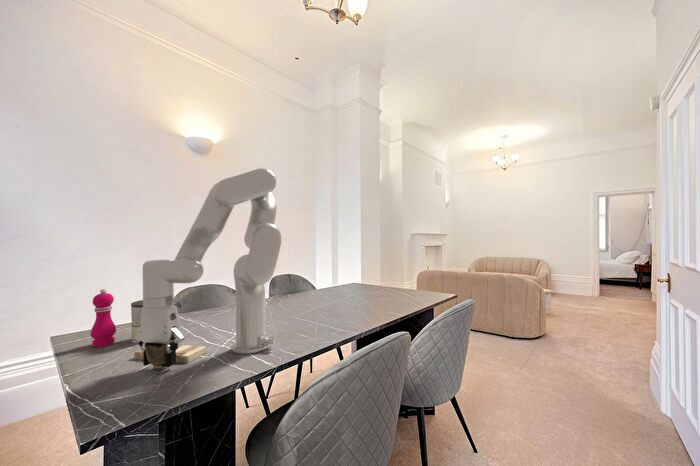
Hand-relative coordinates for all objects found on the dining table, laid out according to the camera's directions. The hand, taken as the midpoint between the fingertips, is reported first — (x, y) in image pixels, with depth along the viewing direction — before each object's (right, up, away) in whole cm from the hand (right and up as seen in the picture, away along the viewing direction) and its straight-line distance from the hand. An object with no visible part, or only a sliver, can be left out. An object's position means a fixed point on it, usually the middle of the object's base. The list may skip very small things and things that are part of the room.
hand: (159, 364), depth 87 cm
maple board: (-3, -2, +10) cm, 10 cm away
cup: (0, -2, 0) cm, 2 cm away
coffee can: (-22, -3, +28) cm, 35 cm away
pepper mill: (-34, -3, +22) cm, 41 cm away
